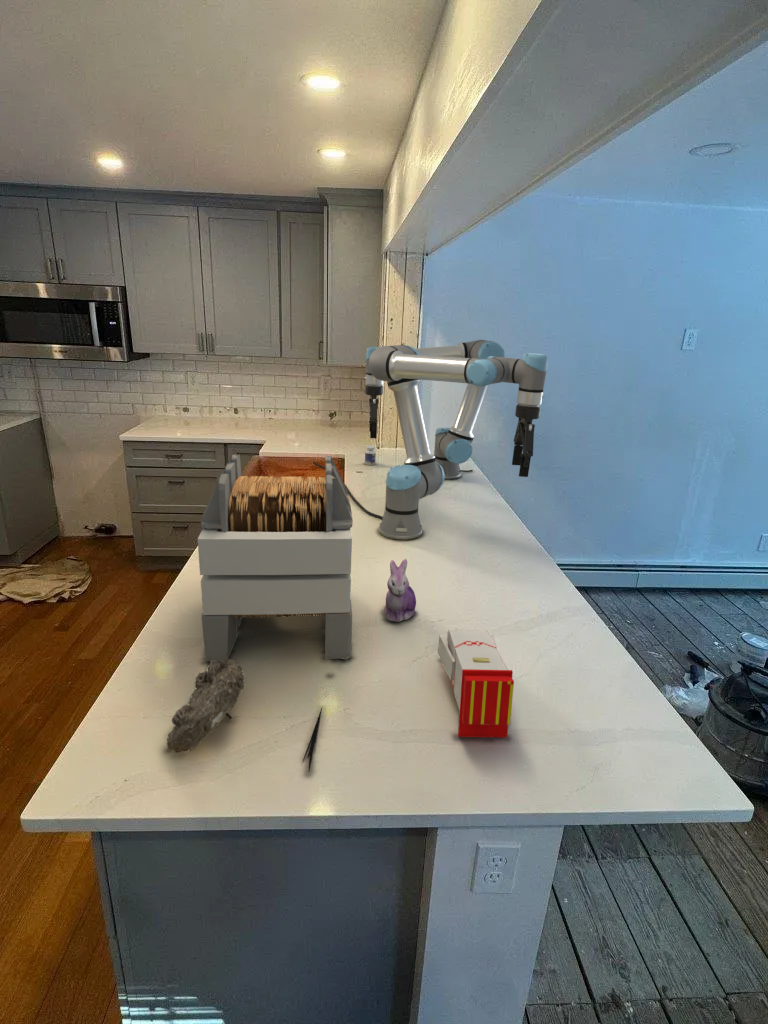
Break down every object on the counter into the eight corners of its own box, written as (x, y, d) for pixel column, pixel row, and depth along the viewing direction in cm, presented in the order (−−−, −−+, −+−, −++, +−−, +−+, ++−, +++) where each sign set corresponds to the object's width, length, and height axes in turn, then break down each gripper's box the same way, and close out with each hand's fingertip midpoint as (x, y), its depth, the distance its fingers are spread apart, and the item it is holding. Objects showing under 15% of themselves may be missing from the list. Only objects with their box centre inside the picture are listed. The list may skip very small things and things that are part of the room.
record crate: (225, 590, 155) (217, 445, 141) (345, 589, 159) (348, 447, 145) (202, 664, 123) (188, 485, 110) (352, 660, 127) (356, 487, 113)
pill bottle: (373, 465, 284) (373, 448, 281) (363, 464, 286) (363, 447, 283) (376, 463, 289) (377, 446, 286) (366, 462, 291) (367, 445, 288)
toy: (488, 613, 130) (523, 677, 101) (484, 667, 133) (517, 744, 104) (435, 612, 130) (455, 676, 101) (432, 666, 133) (451, 743, 103)
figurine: (392, 627, 141) (395, 572, 136) (374, 608, 149) (376, 556, 144) (425, 619, 145) (429, 566, 140) (405, 601, 154) (408, 550, 149)
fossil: (192, 660, 117) (244, 628, 112) (224, 691, 120) (276, 661, 115) (142, 746, 98) (202, 712, 93) (182, 779, 101) (242, 748, 96)
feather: (331, 679, 122) (336, 673, 122) (307, 777, 96) (313, 769, 95) (324, 675, 122) (329, 669, 121) (298, 772, 95) (304, 764, 95)
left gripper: (549, 412, 165) (539, 482, 172) (533, 399, 188) (524, 461, 195) (523, 411, 165) (514, 480, 172) (510, 397, 188) (502, 459, 196)
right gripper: (364, 381, 251) (363, 428, 258) (365, 388, 227) (364, 440, 235) (381, 381, 251) (380, 429, 258) (384, 389, 228) (382, 441, 235)
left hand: (519, 470), depth 184 cm, fingers open, 13 cm apart
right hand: (372, 434), depth 246 cm, fingers open, 13 cm apart
